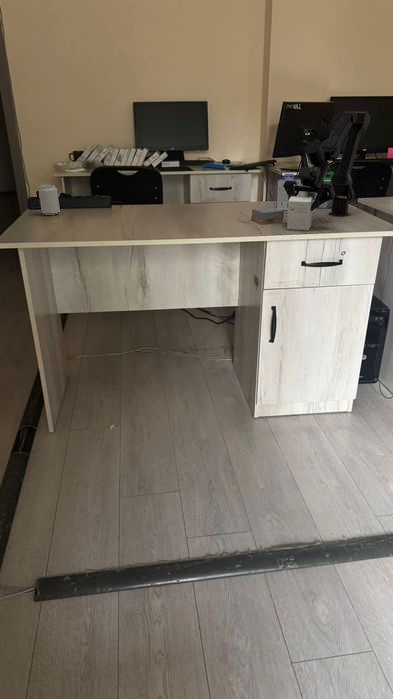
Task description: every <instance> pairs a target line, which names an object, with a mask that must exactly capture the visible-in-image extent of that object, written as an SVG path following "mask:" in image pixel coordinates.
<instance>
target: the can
mask: <svg viewBox="0 0 393 699" xmlns="http://www.w3.org/2000/svg"><path fill="white" fill-rule="evenodd" d="M38 195H39V203H40V209H41V214H42V213H57V212H61V211H60V210H61V209H60V201H59V194H58V188H57V187H56V185H55V184H42V185H39V189H38Z"/></svg>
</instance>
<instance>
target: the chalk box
mask: <svg viewBox="0 0 393 699" xmlns="http://www.w3.org/2000/svg"><path fill="white" fill-rule="evenodd" d="M327 175H330V176H329V177H326V176H327ZM332 175H335V172H334V171H330V172H326V174H325V176H324V178H323V181H324V183H327V184H330V182H331V177H332ZM320 185H321V184H320ZM319 187H320V186H319ZM316 196H317V193H314V199H313V201H314V200H315V198H316ZM332 203H333V200H329V201H326V202H325V203H323V204H321V205H320V206H318V207H317V208H316V209H332Z"/></svg>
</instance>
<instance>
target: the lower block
mask: <svg viewBox="0 0 393 699" xmlns="http://www.w3.org/2000/svg"><path fill="white" fill-rule="evenodd" d="M250 218H251V221H252V222H254V223H257V224H259V225H262V226H263V225H271V224H273V225H274V224H282V223H283V220H284V218H273V219H260V218H257V217H255V216H252V215H251V217H250Z"/></svg>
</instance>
